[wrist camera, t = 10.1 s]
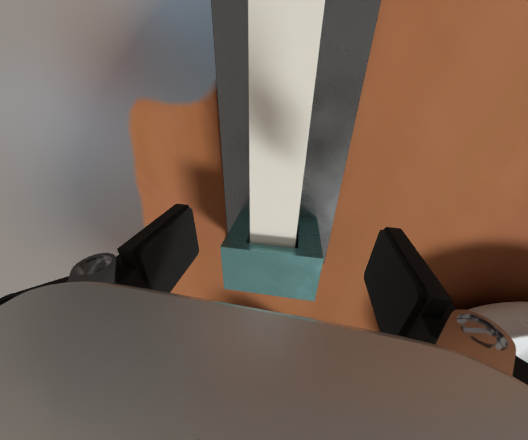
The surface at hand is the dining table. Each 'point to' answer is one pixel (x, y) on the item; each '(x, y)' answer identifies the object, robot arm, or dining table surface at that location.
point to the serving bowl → (510, 322)
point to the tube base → (318, 148)
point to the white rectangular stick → (280, 112)
